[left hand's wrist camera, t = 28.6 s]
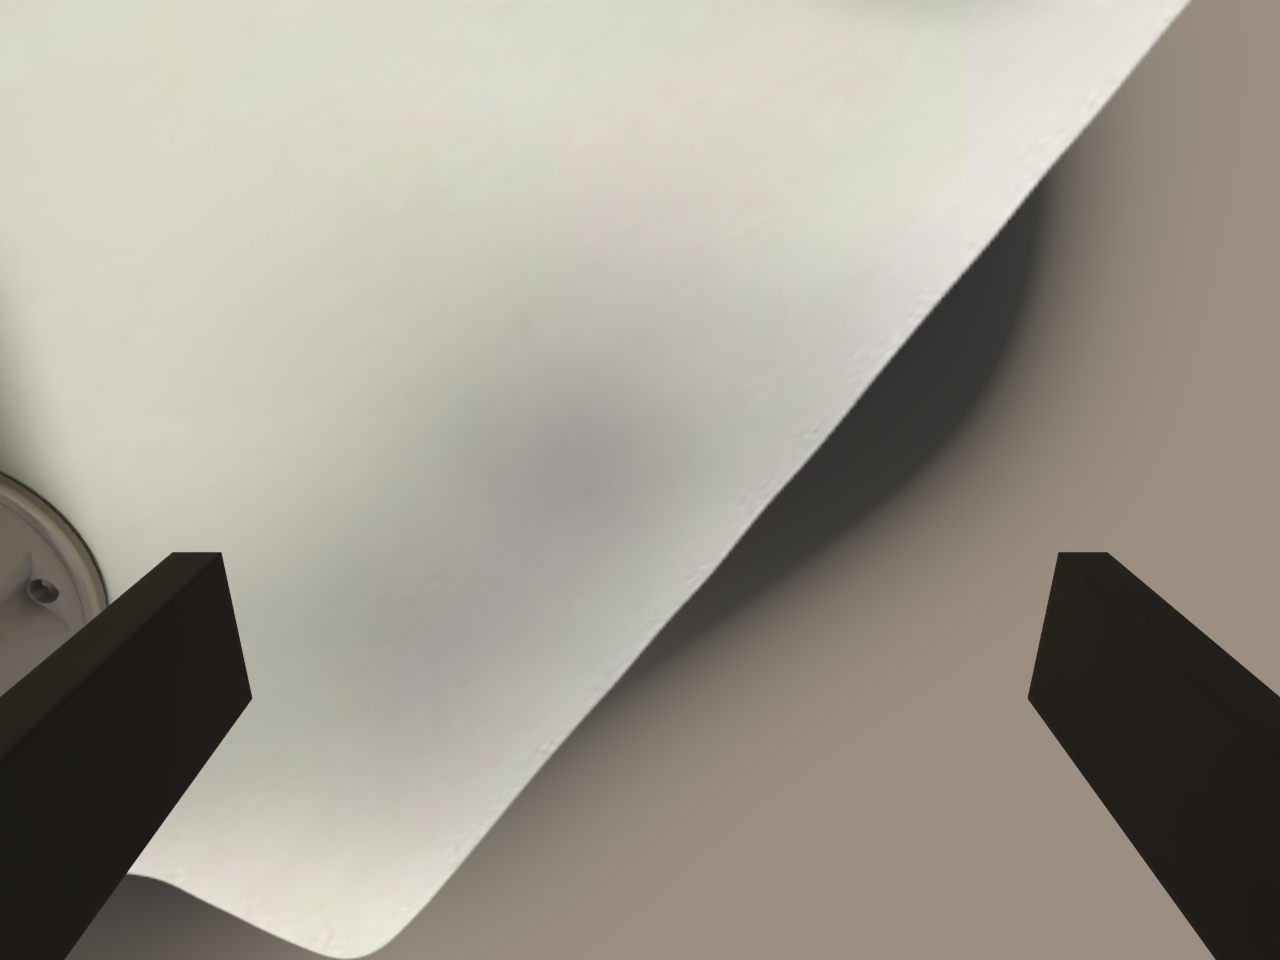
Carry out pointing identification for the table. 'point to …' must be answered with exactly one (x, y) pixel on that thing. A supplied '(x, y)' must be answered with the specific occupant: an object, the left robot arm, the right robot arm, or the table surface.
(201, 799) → the table surface
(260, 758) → the table surface
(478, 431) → the table surface
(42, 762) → the left robot arm
